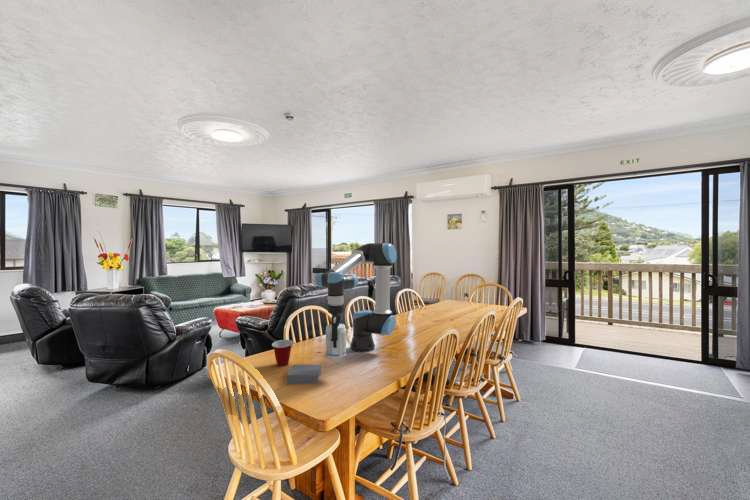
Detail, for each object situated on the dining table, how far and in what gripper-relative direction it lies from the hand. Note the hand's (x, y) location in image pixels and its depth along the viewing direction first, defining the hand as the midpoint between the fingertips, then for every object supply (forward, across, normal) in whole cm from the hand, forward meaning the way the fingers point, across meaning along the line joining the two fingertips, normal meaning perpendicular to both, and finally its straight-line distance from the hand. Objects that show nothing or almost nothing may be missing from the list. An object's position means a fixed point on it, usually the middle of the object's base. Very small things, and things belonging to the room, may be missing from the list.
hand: (336, 350), depth 166 cm
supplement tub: (+3, 0, 0) cm, 3 cm away
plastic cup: (+13, -18, -30) cm, 37 cm away
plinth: (+13, 0, -15) cm, 20 cm away
